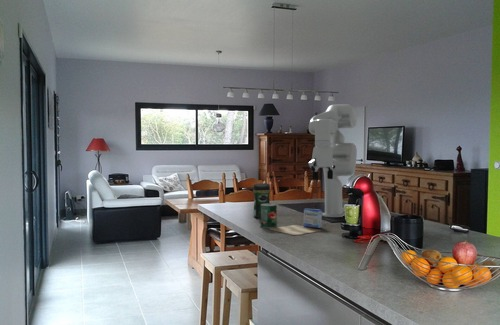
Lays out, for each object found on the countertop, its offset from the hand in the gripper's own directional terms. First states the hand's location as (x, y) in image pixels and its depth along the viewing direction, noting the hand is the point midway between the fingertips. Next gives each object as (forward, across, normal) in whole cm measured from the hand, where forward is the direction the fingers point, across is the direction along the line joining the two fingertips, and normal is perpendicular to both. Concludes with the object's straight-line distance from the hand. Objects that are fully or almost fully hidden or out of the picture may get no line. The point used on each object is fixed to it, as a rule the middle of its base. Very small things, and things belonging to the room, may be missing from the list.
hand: (322, 179), depth 223 cm
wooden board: (+23, +18, +1) cm, 30 cm away
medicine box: (+23, +7, +1) cm, 24 cm away
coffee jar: (+23, +9, -39) cm, 46 cm away
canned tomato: (+23, +23, -14) cm, 35 cm away
